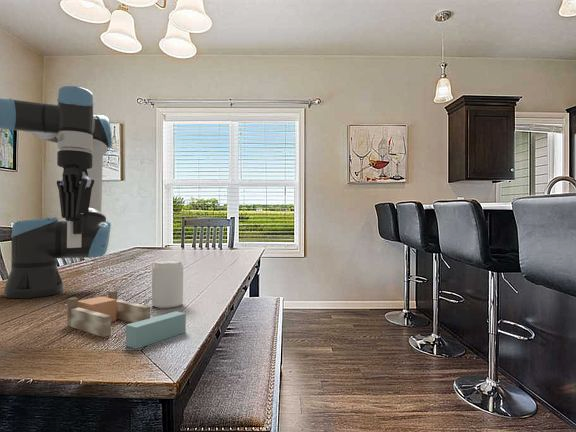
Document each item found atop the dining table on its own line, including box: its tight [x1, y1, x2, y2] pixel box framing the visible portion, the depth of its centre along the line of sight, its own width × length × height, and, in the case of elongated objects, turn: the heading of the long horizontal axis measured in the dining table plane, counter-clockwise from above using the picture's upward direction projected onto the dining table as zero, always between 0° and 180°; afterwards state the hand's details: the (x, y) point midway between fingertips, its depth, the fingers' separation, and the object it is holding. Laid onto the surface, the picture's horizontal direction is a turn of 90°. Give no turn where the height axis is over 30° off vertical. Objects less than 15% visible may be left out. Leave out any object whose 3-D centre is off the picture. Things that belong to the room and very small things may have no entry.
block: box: [78, 296, 117, 323], centre depth 86 cm, size 6×6×5 cm
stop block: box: [125, 310, 187, 350], centre depth 74 cm, size 3×12×4 cm, turn 148°
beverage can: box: [151, 259, 184, 309], centre depth 101 cm, size 8×8×12 cm
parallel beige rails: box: [66, 289, 151, 338], centre depth 83 cm, size 14×11×6 cm
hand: (74, 247), depth 91 cm, fingers closed
